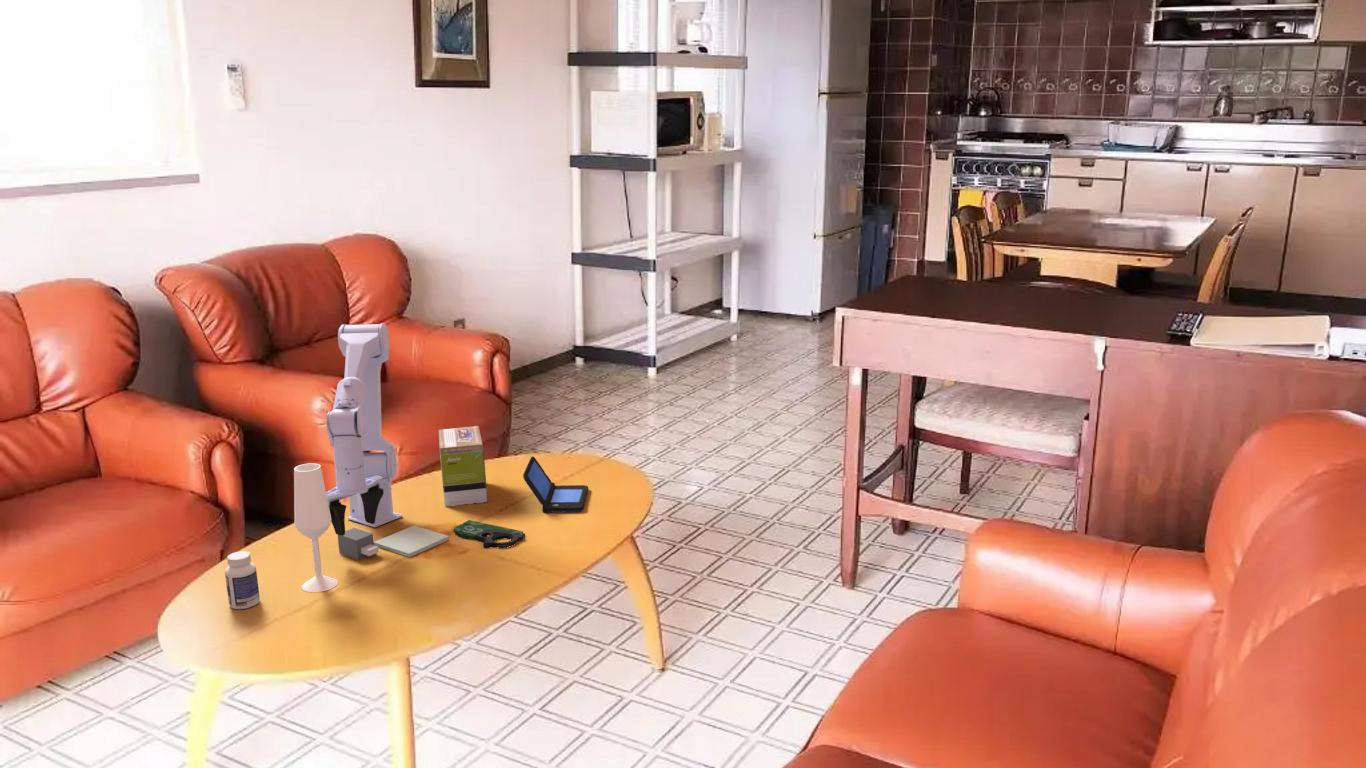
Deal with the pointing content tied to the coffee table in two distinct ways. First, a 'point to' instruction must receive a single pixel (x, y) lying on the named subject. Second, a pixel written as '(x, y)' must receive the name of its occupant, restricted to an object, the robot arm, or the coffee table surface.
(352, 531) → the connector plug
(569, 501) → the handheld game console
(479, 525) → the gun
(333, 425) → the robot arm
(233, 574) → the pill bottle
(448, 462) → the tea box
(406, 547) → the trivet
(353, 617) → the coffee table surface
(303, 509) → the champagne flute
